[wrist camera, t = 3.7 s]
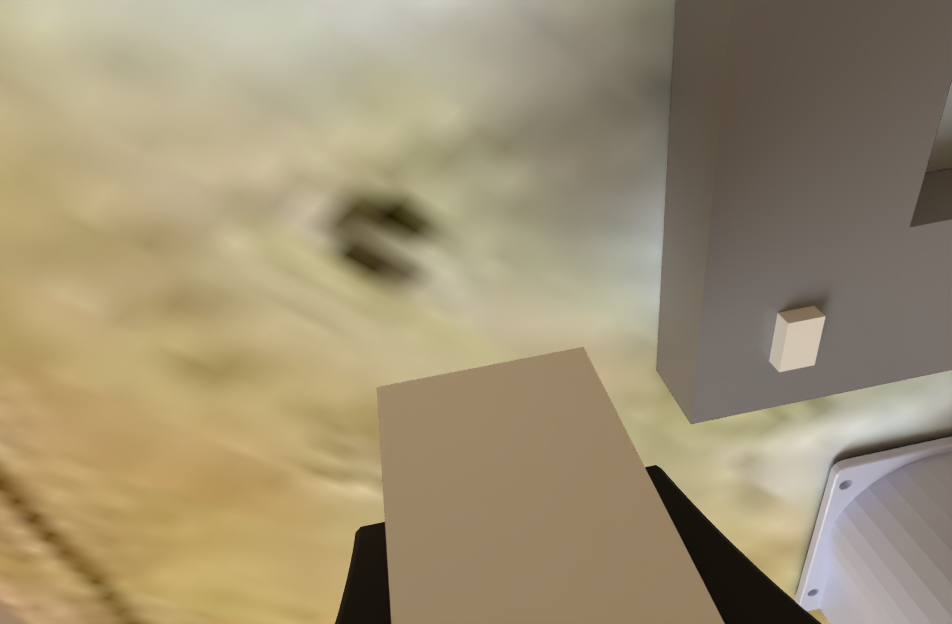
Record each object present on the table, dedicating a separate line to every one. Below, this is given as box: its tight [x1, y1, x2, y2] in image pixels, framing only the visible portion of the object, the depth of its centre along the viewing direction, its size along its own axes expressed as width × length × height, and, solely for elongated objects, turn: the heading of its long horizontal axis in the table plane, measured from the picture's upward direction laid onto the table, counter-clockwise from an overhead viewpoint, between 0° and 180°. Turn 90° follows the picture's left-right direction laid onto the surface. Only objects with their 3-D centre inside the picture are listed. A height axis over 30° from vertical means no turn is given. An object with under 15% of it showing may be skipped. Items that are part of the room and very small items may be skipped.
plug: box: [377, 347, 724, 624], centre depth 11 cm, size 4×4×7 cm
